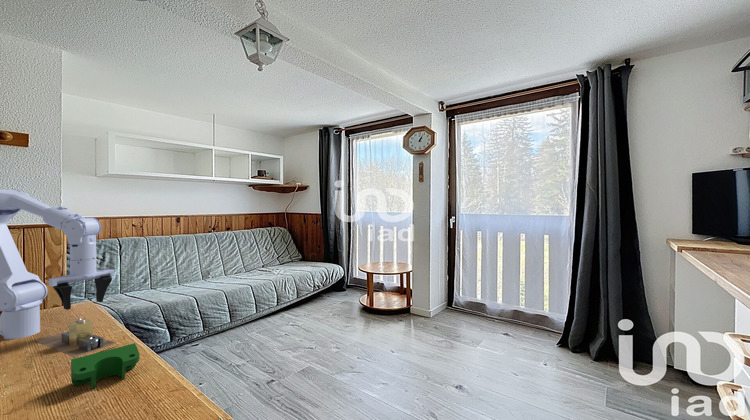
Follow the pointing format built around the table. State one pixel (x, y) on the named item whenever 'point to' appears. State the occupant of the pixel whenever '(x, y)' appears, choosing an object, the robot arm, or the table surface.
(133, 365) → the clamp
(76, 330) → the brushed brass block
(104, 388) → the table surface
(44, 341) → the board
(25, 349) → the table surface
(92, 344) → the steel ball guide
